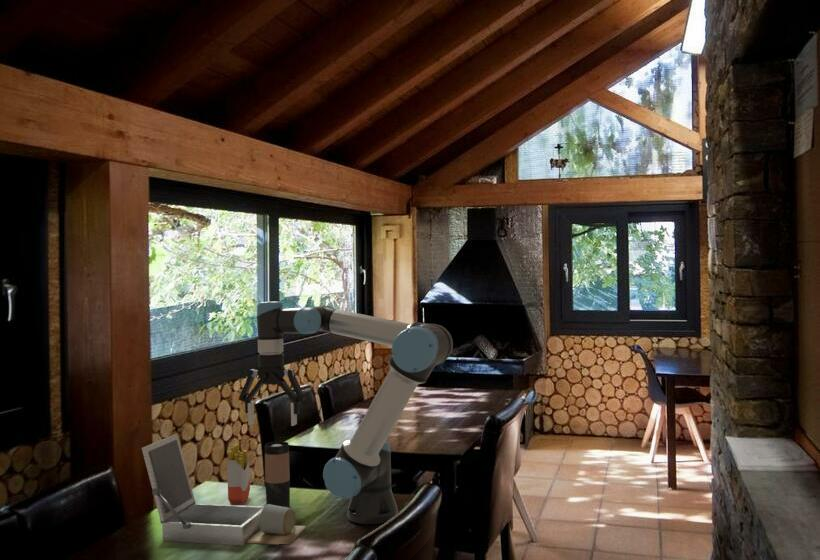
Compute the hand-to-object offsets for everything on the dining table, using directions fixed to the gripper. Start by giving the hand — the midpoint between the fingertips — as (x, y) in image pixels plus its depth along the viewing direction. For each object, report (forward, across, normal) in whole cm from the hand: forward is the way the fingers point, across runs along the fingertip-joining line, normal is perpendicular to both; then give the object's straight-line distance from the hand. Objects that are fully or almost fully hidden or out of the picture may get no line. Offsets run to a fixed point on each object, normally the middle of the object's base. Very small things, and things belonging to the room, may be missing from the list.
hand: (272, 424), depth 206 cm
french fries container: (+29, +19, -16) cm, 38 cm away
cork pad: (+29, -5, +11) cm, 31 cm away
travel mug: (+29, +4, -12) cm, 32 cm away
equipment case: (+29, +16, +12) cm, 35 cm away
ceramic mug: (+28, -6, +10) cm, 30 cm away
